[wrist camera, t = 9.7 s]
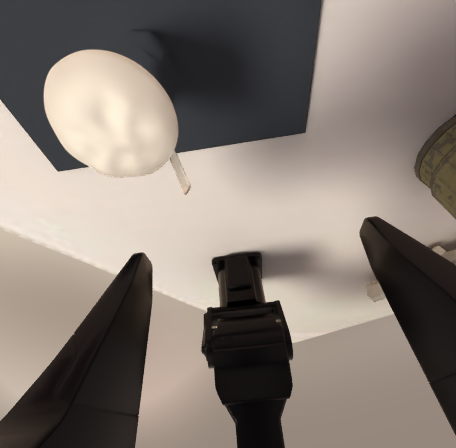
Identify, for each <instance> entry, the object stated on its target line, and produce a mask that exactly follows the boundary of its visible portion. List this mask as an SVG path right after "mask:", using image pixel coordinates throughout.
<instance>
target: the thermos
mask: <svg viewBox="0 0 456 448" xmlns="http://www.w3.org/2000/svg"><path fill="white" fill-rule="evenodd" d="M414 169H415V173H416V177H417V178H418V179H419V180H420V181H422V182H423V183H424V184H425V185H426V186H428V187H429V188H430V189H431V192H432V196H433V197H434V198H435V199H436V200H437V201H438V202H439V203H440V204H441V205H442V206H443V207H444V208H445V209H446V210H447V211H448V212H449V213H450V214H451V215H452V216H453V217H454V218H455V219H456V115H455V116H454V117H453V118H451V119H450V120H449V121H448V122H446V123H445V124H444V125H442V126H441V127H440V128H439V129H438V130H437V131H436V132H435V133H434V134H433V135H432V136H431V137H430V139H429V140H428V141H427V142H426V143H425V145H424V146H423V148H422V149H421V151H420V153H419V154H418V156H417V159H416V163H415V167H414Z"/></svg>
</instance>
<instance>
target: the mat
mask: <svg viewBox="0 0 456 448" xmlns="http://www.w3.org/2000/svg"><path fill="white" fill-rule="evenodd" d="M320 9H321V0H0V100H1V101H2V102H3V103H4V105H5V106H6V107H7V108H8V110H9V111H10V112H11V113H12V115H13V116H14V117H15V118H16V120H17V121H18V122H19V123H20V125H21V126H22V127H23V128H24V130H25V131H26V132H27V133H28V135H29V136H30V137H31V138H32V140H33V141H34V142H35V143H36V145H37V146H38V147H39V148H40V150H41V151H42V152H43V153H44V155H45V156H46V157H47V158H48V160H49V161H50V162H51V164H52V165H53V166H54V167H55V169H56V170H57V171H58V172H59V171H65V170H72V169H78V168H84V167H89V166H87V165H85V164H84V163H82V162H80V161H79V160H77V159H76V158H74V157H73V156H72V155H71V154H70V153H69V152H68V151H67V150H66V149H65V148H64V147H63V145H62V144H61V142H60V141H59V139H58V138H57V136H56V134H55V132H54V130H53V128H52V127H51V125H50V123H49V120H48V118H47V115H46V112H45V107H44V86H45V81H46V78H47V75H48V73H49V71H50V70H51V68H52V67H53V66H54V65H55V64H56V63H57V62H59V61H60V60H61V59H63V58H64V57H66V56H68V55H70V54H72V53H75V52H78V51H81V50H84V49H87V48H90V47H93V46H97V45H100V44H102V43H105V42H107V41H109V40H111V39H113V38H116V37H118V36H120V35H122V34H125V33H127V32H129V31H145V30H150V31H151V32H152V33H154V34H155V35H157V36H158V37H159V38H161V39H162V40H163V41H165V42H166V43H167V44H168V47H169V49H170V51H171V54H172V56H173V58H174V60H175V63H176V106H177V119H178V139H177V143H176V147H175V149H174V150H175V152H176V153H180V152H186V151H193V150H199V149H205V148H212V147H218V146H224V145H231V144H237V143H244V142H250V141H256V140H263V139H269V138H275V137H282V136H288V135H294V134H301V133H305V131H306V123H307V115H308V107H309V99H310V90H311V82H312V74H313V66H314V58H315V49H316V41H317V33H318V25H319V17H320Z"/></svg>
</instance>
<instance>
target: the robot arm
mask: <svg viewBox="0 0 456 448" xmlns="http://www.w3.org/2000/svg"><path fill="white" fill-rule="evenodd" d="M360 238H361V241H362V243H363V246H364V249H365V252H366V254H367V257H368V260H369V263H370V265H371V268H372V270H373V272H374V275H375V277H376V279H377V281H378V282H379V284H380V286H381V288H382V290H383V292H384V294H385V296H386V298H387V300H388V302H389V304H390V306H391V308H392V310H393V312H394V314H395V316H396V318H397V320H398V322H399V324H400V326H401V328H402V330H403V332H404V334H405V336H406V338H407V339H408V342H409V344H410V346H411V348H412V350H413V352H414V354H415V356H416V358H417V360H418V361H419V363H420V366H421V367H422V369H423V371H424V373H425V375H426V377H427V379H428V381H429V382H430V383H429V384H430V386H431V388H432V389H433V391H434V394H435V396H436V398H437V399H438V402H439V403H440V405H441V407H442V409H443V411H444V413H445V415H446V417H447V419H448V421H449V423H450V425H451V427H452V429H453V431H454V433H455V435H456V265H455V264H454V263H452V262H451V261H449V260H447V259H446V258H444V257H442V256H441V255H439V254H438V253H436V252H434V251H433V250H431V249H429V248H428V247H426V246H425V245H423V244H421V243H420V242H418V241H416V240H415V239H413V238H412V237H410V236H408V235H407V234H405V233H403V232H402V231H400V230H399V229H397V228H395V227H394V226H392V225H391V224H389V223H387V222H386V221H384V220H382V219H381V218H379V217H376V216H374V217H368V218H365V219H364V222H363V224H362V227H361V229H360ZM212 265H213V268H214V271H215V274H216V277H217V281H218V284H219V298H220V307H216V308H212V307H209V308H207V313H205V314H204V332H203V340H202V353H203V354H204V355H205V356H206V359H207V361H208V367H209V368H214V373H215V386H216V390H217V393H218V396H219V398H220V400H221V402H222V404H223V405H225V406H226V408H227V410H228V412H229V413H230V415H231V417H232V418H233V420H234V422H235V424H236V435H237V448H285V446H284V439H283V433H282V426H281V416H282V412H283V410H284V406H285V403H286V400H287V399H289V398H290V396H291V391H292V386H293V385H292V376H291V371H290V364H289V360H292V359H293V348H292V341H291V336H290V332H289V329H288V326H287V323H286V320H285V317H284V314H283V310H282V307H281V304H280V301H279V300H278V301H275V302H266V301H265V296H264V291H263V285H262V280H261V279H262V256H261V253H251V254H243V255H236V256H229V257H221V258H214V259H212ZM151 308H152V264H151V262H150V260H149V259H148V257H147V256H146V255H145V253H143V252H141V253H135V254H133V255H132V256H131V257H130V259H129V260H128V262H127V263H126V264H125V266H124V267H123V268H122V270H121V271H120V272H119V274H118V275H117V276H116V278H115V279H114V280H113V282H112V283H111V284H110V286H109V287H108V288H107V290H106V291H105V292H104V294H103V295H102V296H101V298H100V299H99V300H98V302H97V303H96V305H95V306H94V307H93V308H92V310H91V311H90V313H89V314H88V315H87V316H86V318H85V319H84V321H83V322H82V323H81V325H80V326H79V327H78V328H77V330H76V331H75V333H74V335H72V337H71V338H70V339H69V340H68V342H67V343H66V344H65V346H64V347H63V348H62V350H61V351H60V352H59V353H58V355H57V356H56V357H55V359H54V360H53V361H52V362H51V363H50V365H49V366H48V367H47V368H46V369H45V371H44V372H43V373H42V374H41V375H40V377H39V378H38V379H37V380H36V381H35V382H34V384H33V385H32V386H31V387H30V388H29V389H28V390H27V392H26V393H25V394H24V395H23V396H22V397H21V399H20V400H19V401H18V402H17V403H16V404H15V406H14V407H13V408H12V409H11V410H10V411H9V412H8V414H7V415H6V416H5V417H4V418H3V419H2V420H1V421H0V448H135V442H136V434H137V426H138V415H139V408H140V400H141V391H142V383H143V375H144V365H145V358H146V350H147V341H148V333H149V325H150V316H151ZM216 326H217V328H216Z"/></svg>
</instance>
